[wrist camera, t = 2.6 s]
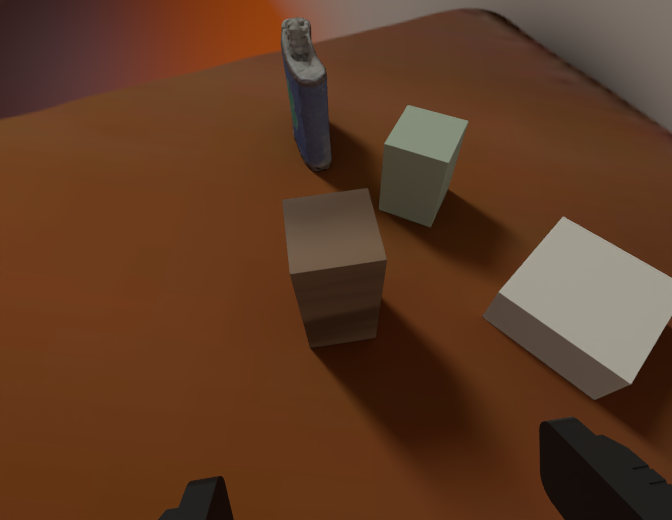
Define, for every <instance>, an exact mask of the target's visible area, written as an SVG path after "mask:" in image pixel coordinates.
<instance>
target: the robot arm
mask: <svg viewBox="0 0 672 520" xmlns="http://www.w3.org/2000/svg"><path fill="white" fill-rule="evenodd" d="M539 438H540V475H541V480H542V483H543V486H544V489H545V491H546V493H547V495H548V497H549V499H550V500H551V502H552V503H553V505H554V506H555V507H556V509H557V510H558V511H559V513H560V514H561V515H562V517H563V518H564V519H565V520H672V485H671V484H667V482H666V480H665V479H664V478H663V477H662V476H660V475H659V474H658V473H657V472H656V471H654V470H653V469H650V468H649V466H648V465H647V464H646V463H645V462H644V461H643V460H641V459H640V458H639V457H638V456H637V455H636V454H634V453H633V452H632V451H631V450H630V449H629V448H627V447H625V446H623V445H621V444H619V443H617V442H616V441H614V440H612V439H610V438H608V437H606V436H604V435H598V436H596V435H595V434H593V433H592V432H591V431H590V430H589V429H588V428H587V427H586V426H585V425H583V424H582V423H581V422H580V421H579V420H578V419H576V418H574V417H567V418H561V419H555V420H549V421H543V422H542V423H541V424H540V428H539ZM158 520H234V519H233V515H232V511H231V506H230V502H229V498H228V494H227V489H226V485H225V481H224V479H223V477H222V476H217V477H211V478H206V479H200V480H194V481H190V482H189V483H188V485H187V487H186V489H185V492H184V494H183V497H182V500H181V502H180V505H179V508H174V509H168V510H166V511H165V512H164V513H163V514H162V516H161V517H160V518H159V519H158Z"/></svg>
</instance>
